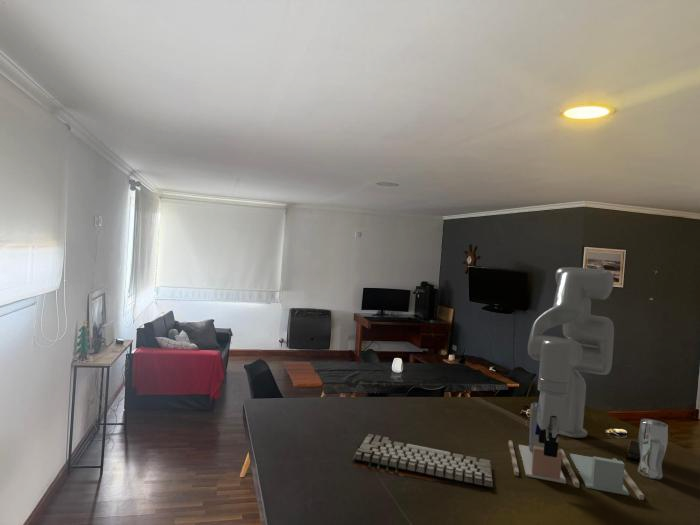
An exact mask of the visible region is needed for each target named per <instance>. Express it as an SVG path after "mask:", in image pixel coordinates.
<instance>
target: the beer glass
mask: <svg viewBox="0 0 700 525" xmlns="http://www.w3.org/2000/svg"><path fill="white" fill-rule="evenodd" d="M668 429H669V425H668V424H667V423H665V422H662V421H660V420H655V419H650V418H642V419H640V424H639V430H638V448H639V464H638V467H637V473H638V474H640V475H641V476H643V477H646V478H649V479H652V480H653V479H654V480H662V479H663V476H664V475H663V461H664V458H665V455H666V452H667V451H666V450H667V446H668V442H669V441H668V440H669V438H668V437H669V430H668Z"/></svg>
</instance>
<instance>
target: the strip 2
mask: <svg viewBox="0 0 700 525" xmlns="http://www.w3.org/2000/svg"><path fill="white" fill-rule="evenodd" d="M569 456H570V458H571V461H572V462H573V464H574V466H575V468H576V470H577V469H578V470H577V472H578V471H579V472H578V474H579V476H580V477H581V479H582V481H583V484H584V485H585V487H586V488H588V489H592V490H598V491H602V492H609V493H612V494H617V495H625V496H630V492H629V491H628V489H627V488H626V486H625V485H624V469H625V465H626V464H625V463H624V462H623V461H622V460H618V459H617V460H612V459H611V458H605V457H601V456H594V455H593V456H587V455H580V454H575V453H569Z"/></svg>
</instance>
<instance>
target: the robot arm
mask: <svg viewBox="0 0 700 525" xmlns="http://www.w3.org/2000/svg"><path fill="white" fill-rule="evenodd" d="M555 282H556V285H557V286H556V290H555V295H554V299H553V305H552V307H551V308H549V309H547V310H546V311H544V312H542V314H540V315H539V316H538V317H537V318H536V319H535V320H534V322H533V324H532V326H531V330H530V333H529V338H528V343H527V353H528V356H529V357H530V358H531V359H532V360H534V361H539V368H538V369H539V371H538V380H537V391H539V392H540V393H539V396H538V397H539V399H538V403H539V404H538V411H537V423H538V425H539V427H540V429H539V440H538V441H539V443H544V455H545V456H550V457H557V451H558V450H559V435H561V436H565V437H569V438H575V439H576V438H577V439H578V438H579V439H581V438H586V437H588V431H587V430H586V429H585V428H584V418H585V417H584V416H585V404H586V394H587V384H586V380H585V378H584V377H583V376H582V374H581V373H580V372H584V373H587V374H594V375H601V376H606V375H609V374H610V373H611V370H612V366H613V353H614V342H615V341H614V339H615V328H614V322H613V321H612V320H611V319H610V317H607V316H601V315H595V314H591V309H592V308H591V307H592V301H591V299H594V300H606V299H608V298H609V297H610V294H611V292H612V291H613V288H614V274H613V273H612V271H610V270H608V269H601V268H599V269H598V268H585V267H577V266H576V267H574V266H569V267H568V266H567V267H560V268H558V269H557V270H556V271H555ZM561 325H562V334H563V336H564V337H565V338H564V337H558V336H554V335H553V336H552V335H547V334H543V333H544V332H545V331H547V330H549V329H551V328H554V327H558V326H561ZM579 342H583V343H579ZM585 343H592V344H596V345H590V344H585Z"/></svg>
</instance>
